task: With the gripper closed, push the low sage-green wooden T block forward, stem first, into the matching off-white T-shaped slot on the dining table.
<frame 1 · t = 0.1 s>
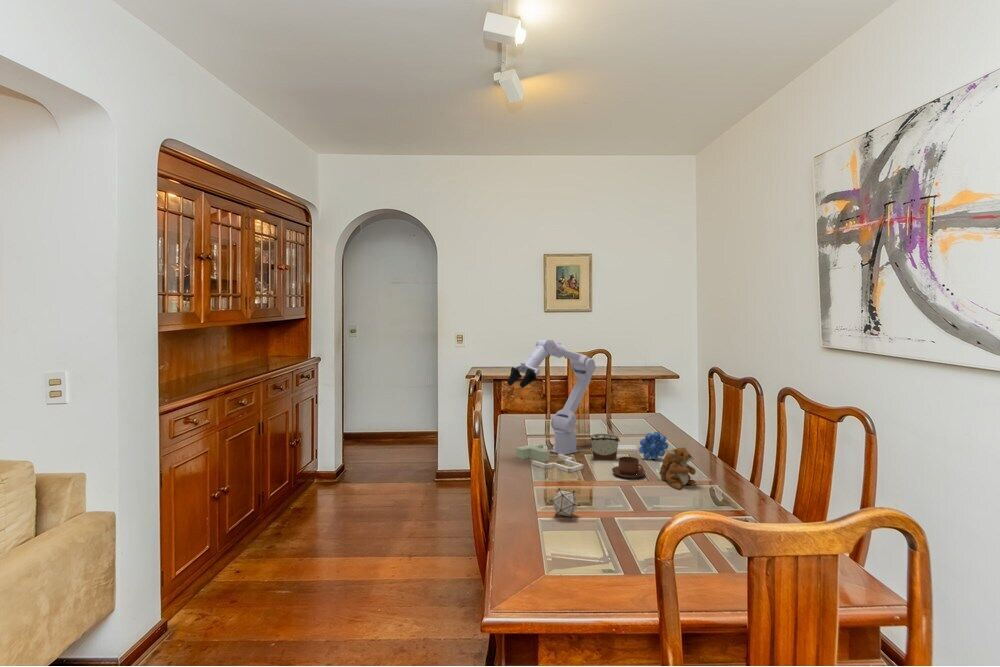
hand: (514, 385, 206), 32 cm above the table, tool tilted 50°, fingers open, 7 cm apart
T block: (529, 455, 219), on the table
stuffed squirrel: (675, 483, 184), on the table
food container: (603, 459, 215), on the table
game die: (565, 516, 154), on the table
cup and saucer: (628, 476, 193), on the table
T socket: (553, 463, 209), on the table
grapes: (653, 459, 213), on the table
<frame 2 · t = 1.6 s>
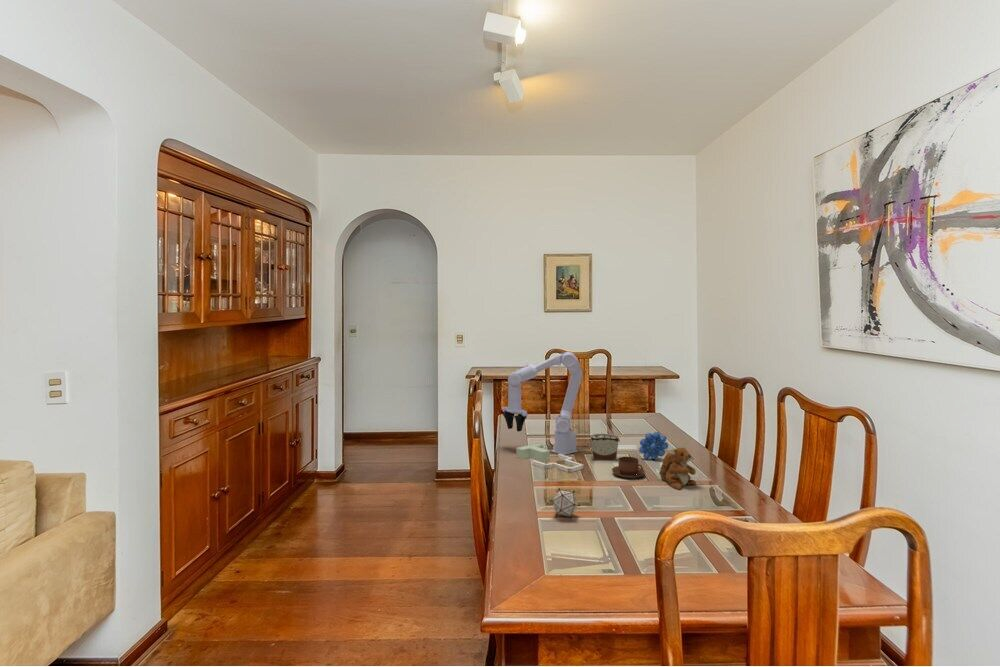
hand: (514, 429, 227), 9 cm above the table, tool pointing down, fingers open, 6 cm apart
nothing on the table moved.
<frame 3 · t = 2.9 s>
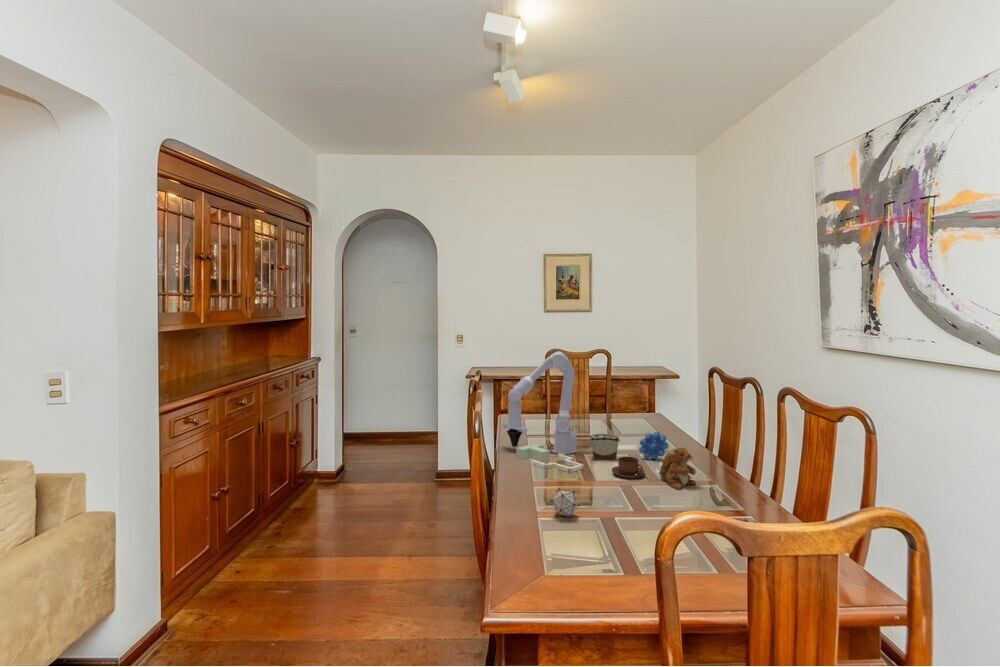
hand: (514, 446, 227), 2 cm above the table, tool pointing down, fingers closed
nothing on the table moved.
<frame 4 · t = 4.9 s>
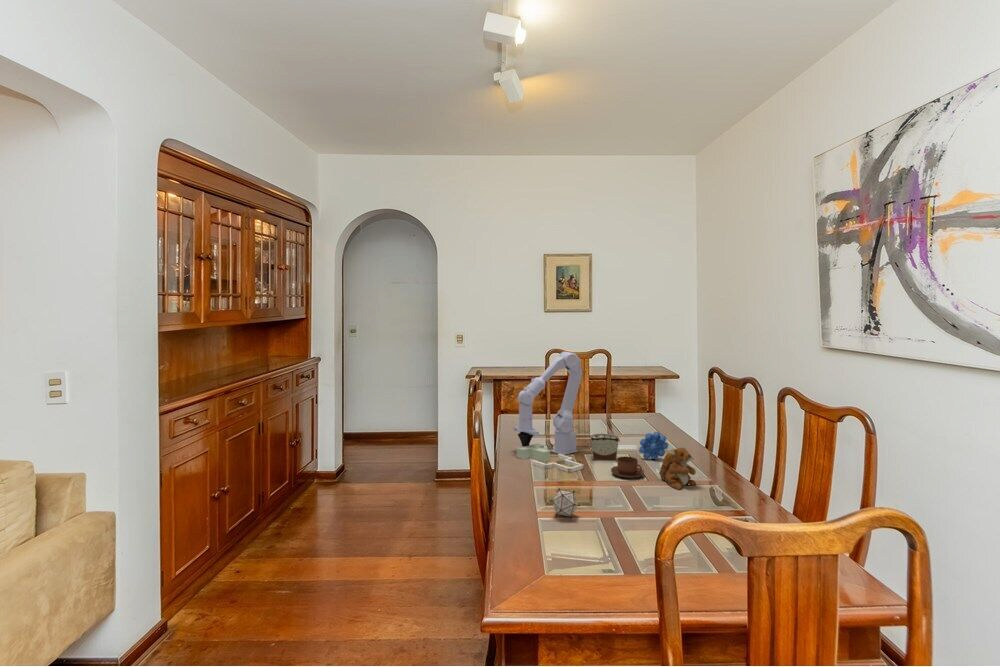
hand: (525, 449, 221), 2 cm above the table, tool pointing down, fingers closed
T block: (530, 455, 219), on the table, touching gripper
everything else where it was.
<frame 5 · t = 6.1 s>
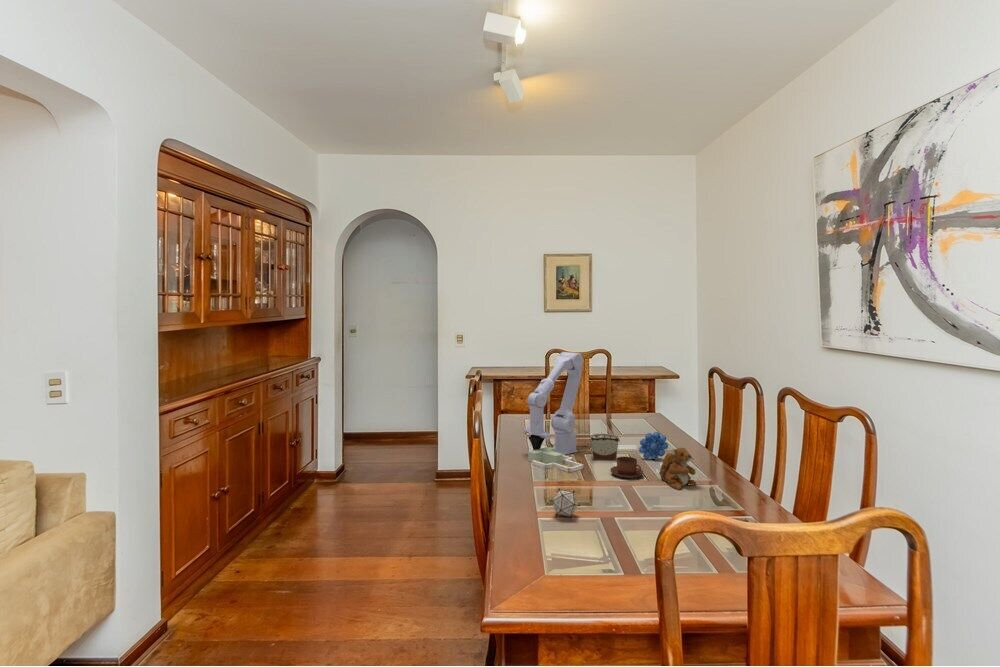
hand: (536, 453, 216), 2 cm above the table, tool pointing down, fingers closed
T block: (541, 459, 214), on the table, touching gripper
everything else where it was.
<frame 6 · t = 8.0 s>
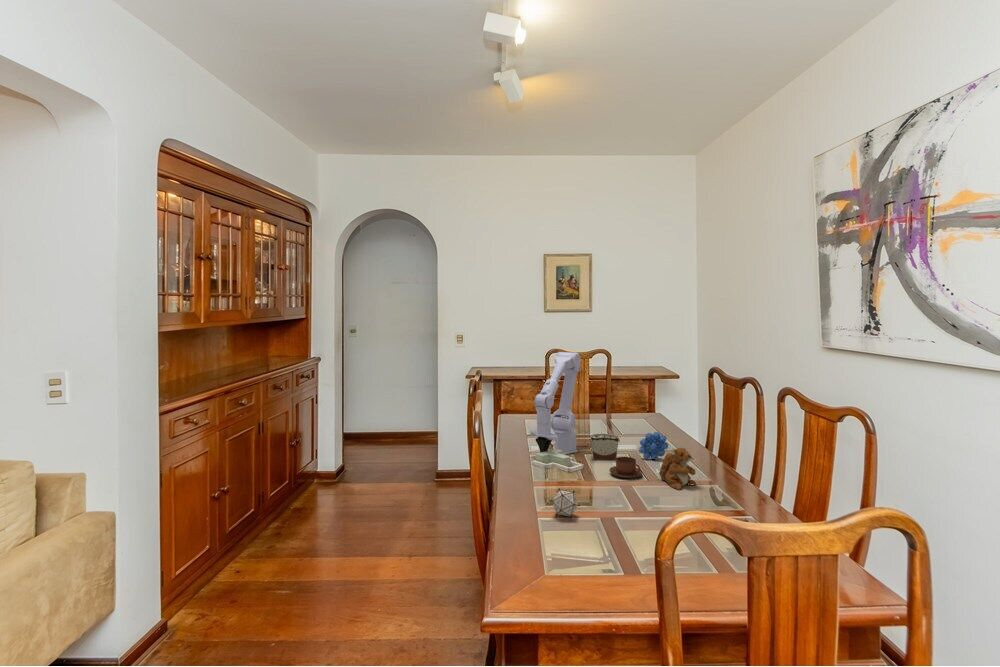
hand: (543, 455, 213), 2 cm above the table, tool pointing down, fingers closed
T block: (549, 461, 210), on the table
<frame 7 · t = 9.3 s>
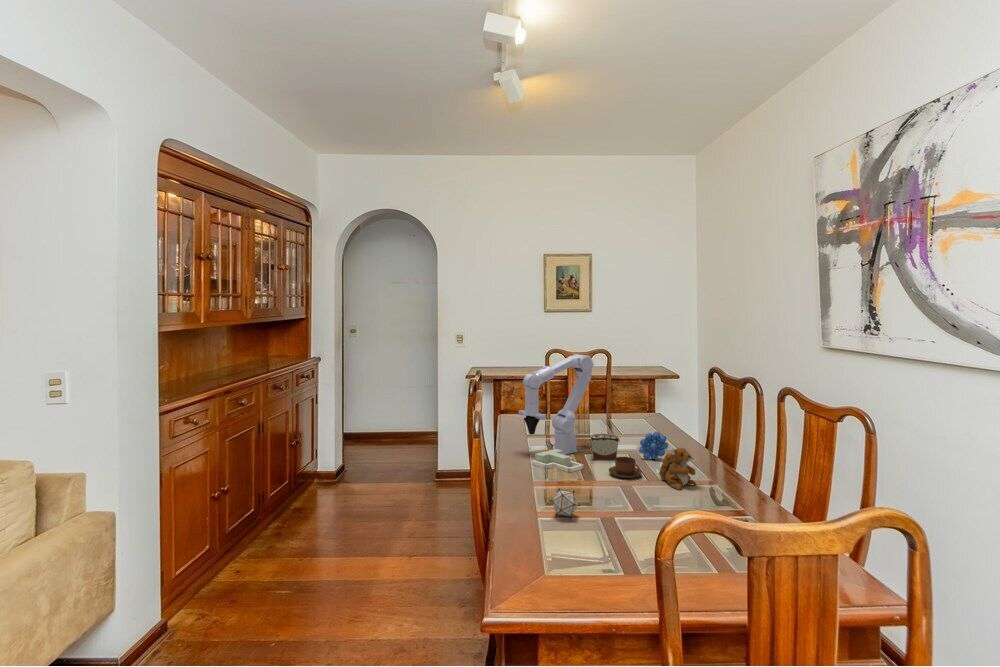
hand: (531, 433, 219), 9 cm above the table, tool pointing down, fingers closed
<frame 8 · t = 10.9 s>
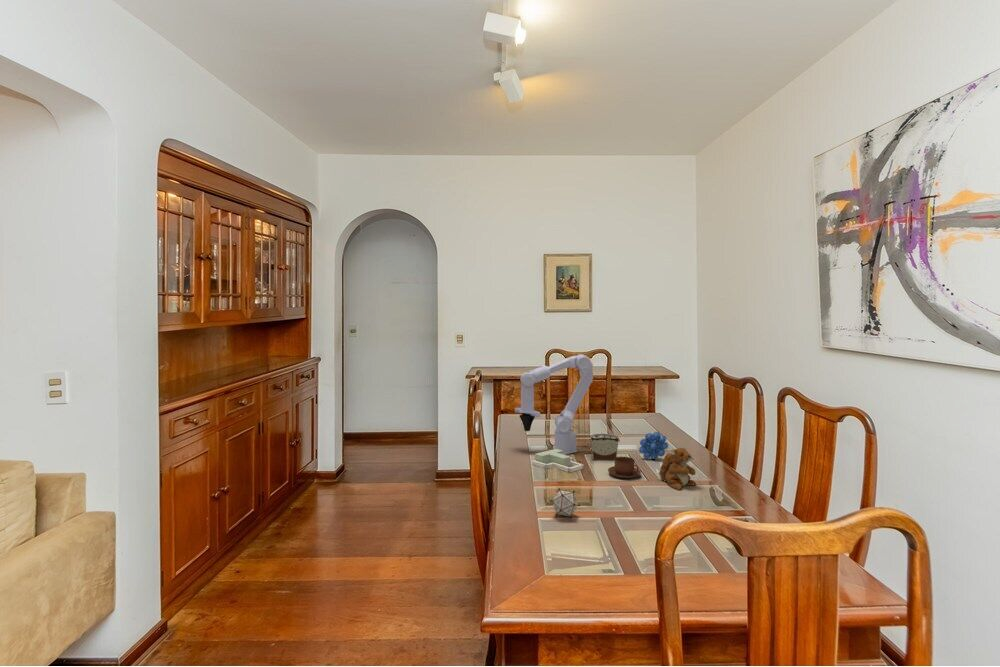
hand: (527, 430, 225), 9 cm above the table, tool pointing down, fingers closed
at the end: T block 1.3 cm off-centre on the T socket, point 0.0 cm above the T socket's base; T block tilted 0°; T block moved 11.8 cm from its start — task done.
